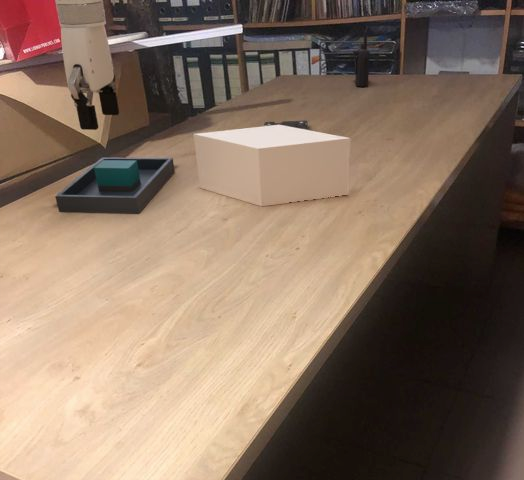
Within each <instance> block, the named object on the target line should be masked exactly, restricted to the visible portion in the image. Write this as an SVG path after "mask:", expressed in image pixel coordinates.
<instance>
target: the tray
mask: <svg viewBox="0 0 524 480" xmlns="http://www.w3.org/2000/svg"><path fill="white" fill-rule="evenodd" d="M103 160H137V165H138V170H139V176H140V181H141V183H140V184H139V185H138V186H137V187H136V189H135V190H134V191H99V189H98V184H97V180H96V175H95V171H94V167H96V166H97V165H98V164H99V163H100V162H102V161H103ZM175 173H176V172H175V164H174V158H173V157H100V158H99V159H98V160H97V161H96V162H95V163H93V164H92V165H91V166H90V167H88V168H87V169H86V170H85V171H83V172H82V173H81V174H80V175H79V176H78V177H76V178H75V179H74V180H73V181H72V182H70V183H69V184H68V185H66V186H65V187H64V188H63V189H62V190H61V191H59V192H58V193H57V194H55V195H54V196H55V201H56V206H57V209H58V212H60V213H92V214H93V213H95V214H96V213H98V214H101V213H102V214H131V215H133V214H135V215H136V214H137V215H139V214H140V213H141V212H142V211H143V210H144V208H146V206H147V205H148V204H149V203H150V202H151V200H152V199H153V198H154V197H155V196H156V195H157V194H158V192H159V191H160V190H161V189H162V188H163V187H164V185H165V184H166V183H167V182H168V181H169V180H170V179H171V177H173V175H174V174H175Z"/></svg>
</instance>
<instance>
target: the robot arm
mask: <svg viewBox="0 0 524 480" xmlns="http://www.w3.org/2000/svg"><path fill="white" fill-rule="evenodd" d="M54 1H55V6H56V12H57V17H58V21H59V26H60V39H61V50H62V59H63V66H64V70H65V77H66V82H67V83H66V85H67V88H68V90H69V92H70V97H71V99H72V101H73V104H74V106H75V108H76V112H77V117H78V124H79V127H80V129H81V130H83V131H85V130H87V131H89V130H90V131H97V130H98V129H99V122H98V116H97V112H96V105H94V104H93V99H94V93H96V92H97V91H99V92H98V97H99V102H100V109H101V112H102V115H104V116H118V115H119V114H120V110H119V109H120V108H119V102H118V96H117V92H116V91H117V86H116V84H115V83H116V78H117V77H116V76H115V63H114V61H113V60H112V53H111V50H110V49H111V48H110V44H109V39H108V36H107V32H106V28H105V25H106V24H107V21H106V13H105V6H104V1H103V0H54ZM85 94H86V95H85Z"/></svg>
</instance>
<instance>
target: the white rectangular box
mask: <svg viewBox="0 0 524 480" xmlns="http://www.w3.org/2000/svg"><path fill="white" fill-rule="evenodd" d="M193 142H194V150H195V151H194V152H195V157H196V159H195V160H196V167H197V168H196V169H197V176H198V184H199V188H200V189H203V190H205V191H209V192H211V193H216V194H218V195H222V196H224V197H225V196H226V197H229V198H233V199H235V200H239V201H243V202H246V203H248V204H252V205H256V206H259V207H267V206H276V205H283V204H290V203H289V202H292V203H298V202H297V201H300V202H305V201H304V200H308V201H314V200H313V199H316V200H322V198H324V199H329V198H330V197H331V198H336V197H335V196H339V197H343V196H342V195H347V196H349V195H350V194H349V193H350V163H351V161H350V160H351V137H346V136H341V135H335V134H330V133H325V132H321V131H314V130H310V129H308V130H305V129H299V128H294V127H289V126H284V125H272V126H264V125H263V126H255V127H254V126H253V127H245V128H236V129H225V130H217V131H208V132H199V133H193ZM328 197H329V198H328ZM331 198H330V199H331Z"/></svg>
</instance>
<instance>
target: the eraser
mask: <svg viewBox="0 0 524 480" xmlns="http://www.w3.org/2000/svg"><path fill="white" fill-rule="evenodd" d="M94 171H95V175H96V180H97V184H98V189H99V191H134V190H135V189H136V187H137V186H138V185H139V184H140V183H141V181H140V176H139V170H138V165H137V160H103V161H102V162H100V163H99V164H98V165H97V166H96V167H94Z"/></svg>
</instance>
